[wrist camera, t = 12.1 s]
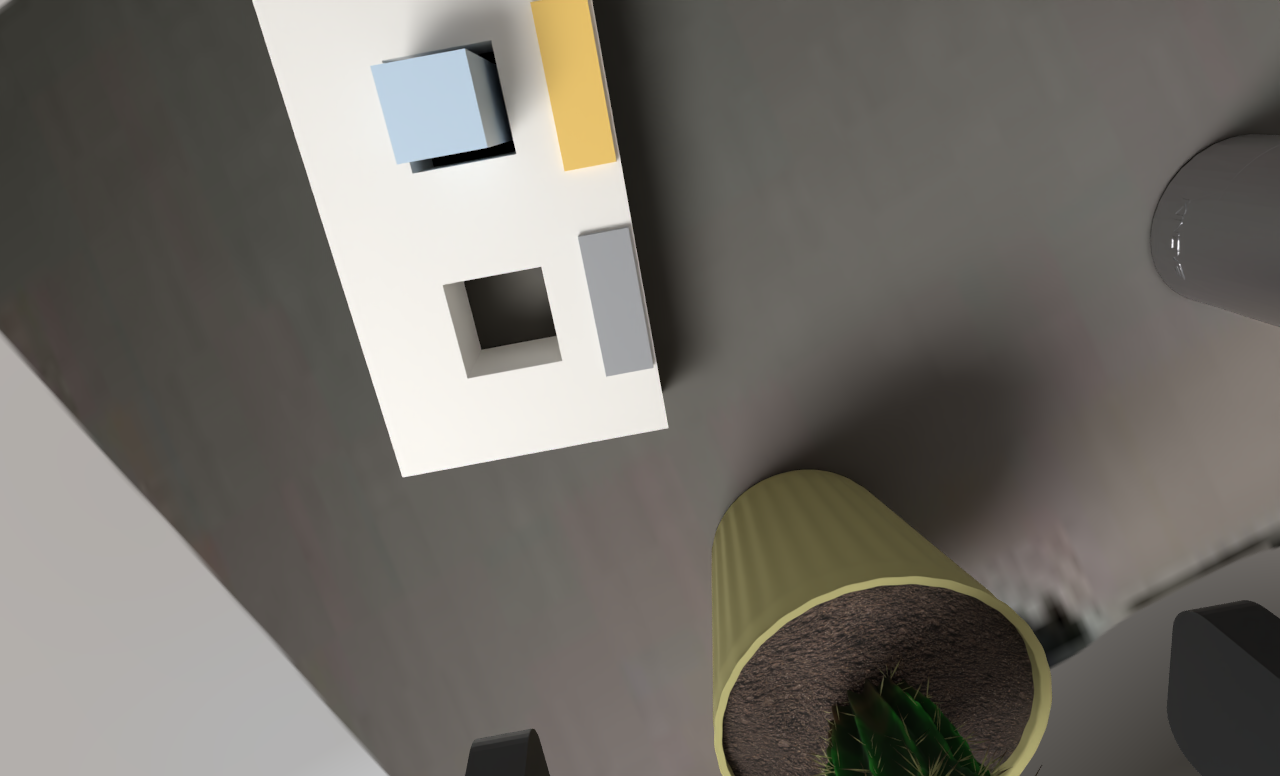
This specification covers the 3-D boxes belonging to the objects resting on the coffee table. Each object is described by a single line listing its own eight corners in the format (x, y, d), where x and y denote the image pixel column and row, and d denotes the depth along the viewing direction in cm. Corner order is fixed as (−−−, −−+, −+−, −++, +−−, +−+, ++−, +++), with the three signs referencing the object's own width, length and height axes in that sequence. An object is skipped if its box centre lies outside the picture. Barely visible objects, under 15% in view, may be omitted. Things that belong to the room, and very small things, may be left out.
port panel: (576, -74, 36) (573, -104, 31) (660, 394, 44) (669, 430, 39) (286, -19, 36) (236, -40, 31) (422, 439, 44) (400, 480, 39)
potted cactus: (895, 653, 52) (1261, 1303, 23) (668, 647, 50) (764, 1325, 22) (943, 443, 47) (1484, 950, 18) (692, 430, 45) (856, 952, 17)
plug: (496, 65, 38) (464, 48, 29) (512, 140, 39) (487, 147, 30) (424, 78, 38) (370, 66, 29) (443, 152, 39) (397, 164, 30)
